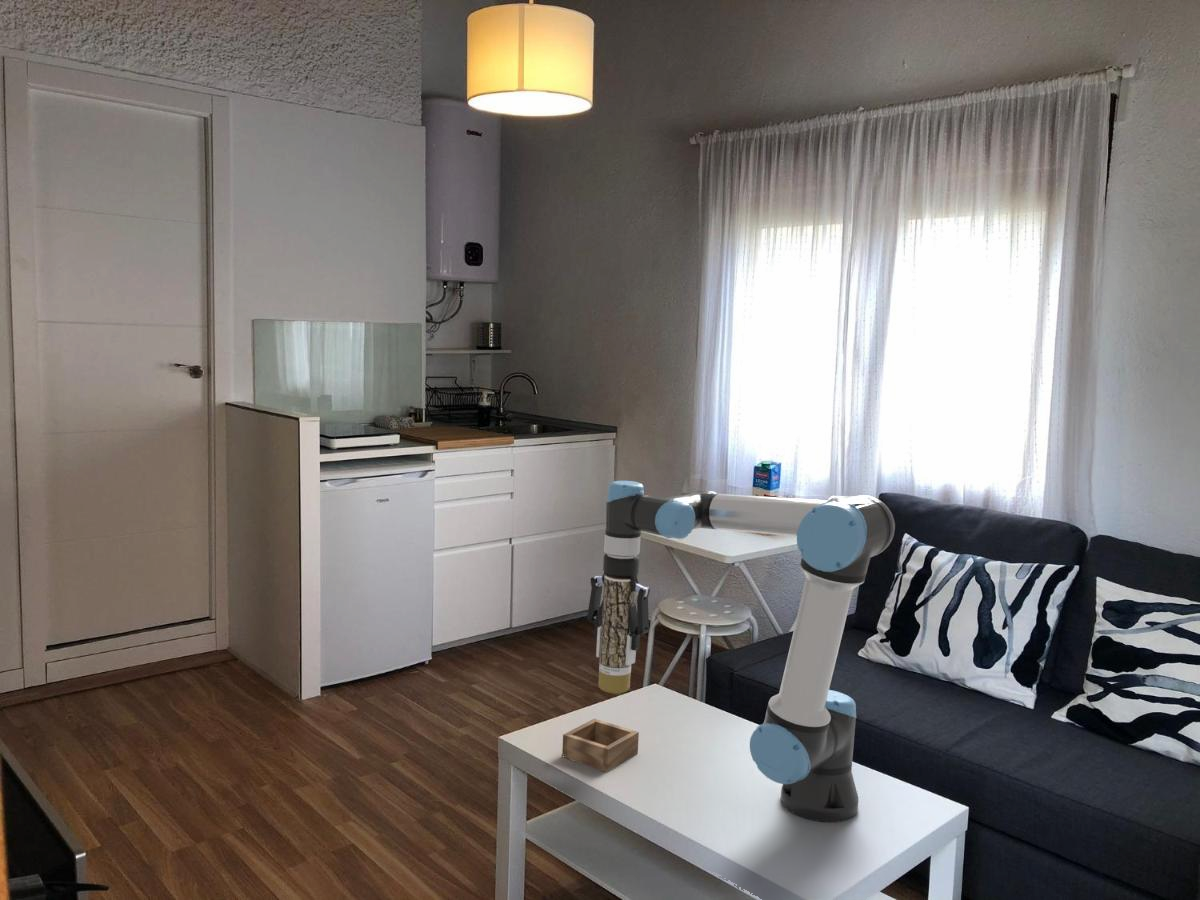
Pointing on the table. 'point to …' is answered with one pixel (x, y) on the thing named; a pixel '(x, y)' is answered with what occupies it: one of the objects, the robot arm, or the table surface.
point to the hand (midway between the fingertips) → (615, 659)
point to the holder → (600, 744)
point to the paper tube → (615, 634)
